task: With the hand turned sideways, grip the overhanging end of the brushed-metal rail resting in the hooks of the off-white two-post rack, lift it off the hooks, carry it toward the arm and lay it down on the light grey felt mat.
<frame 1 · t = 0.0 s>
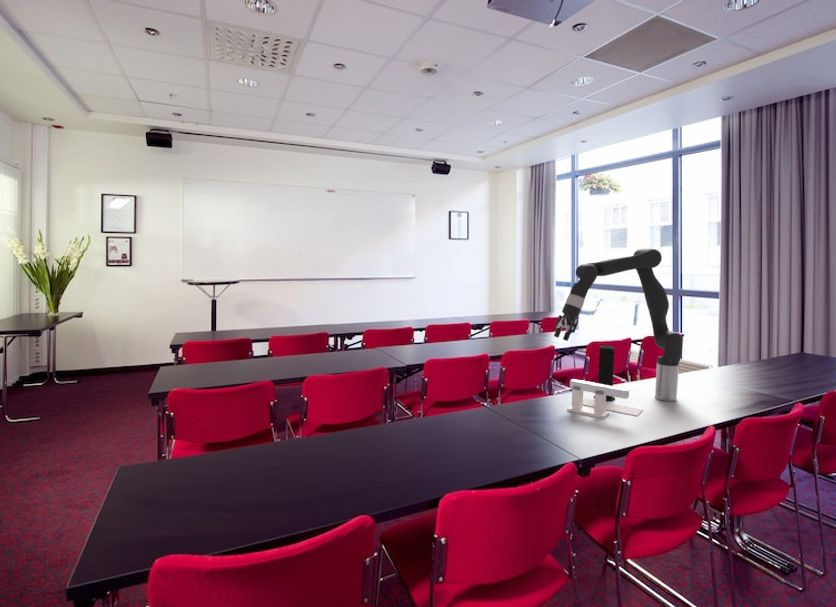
hand: (560, 338, 208), 31 cm above the table, tool tilted 20°, fingers open, 8 cm apart
rack: (588, 412, 201), on the table
rail: (598, 392, 197), point 10 cm above the table, touching rack
mat: (607, 406, 209), on the table
handle grip: (604, 398, 221), on the table
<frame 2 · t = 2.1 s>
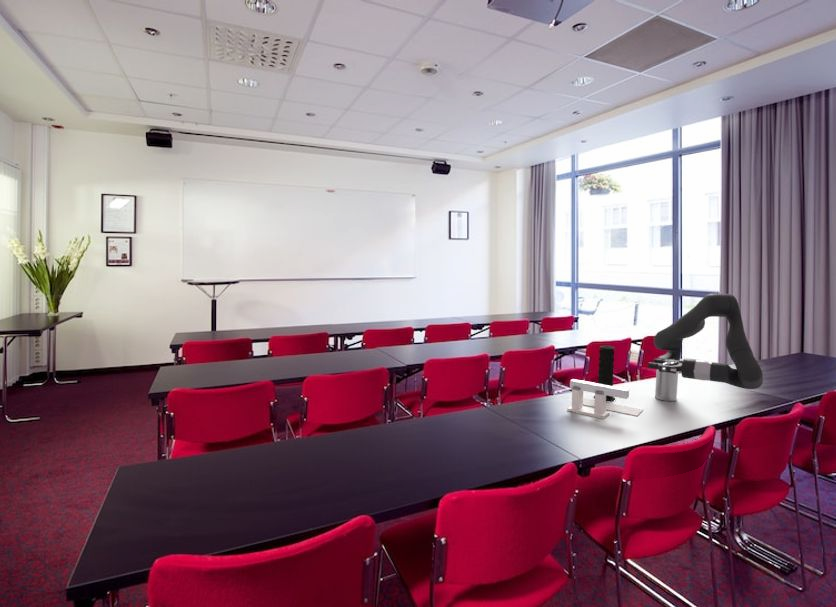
hand: (650, 363, 183), 26 cm above the table, tool horizontal, fingers open, 8 cm apart
nothing on the table moved.
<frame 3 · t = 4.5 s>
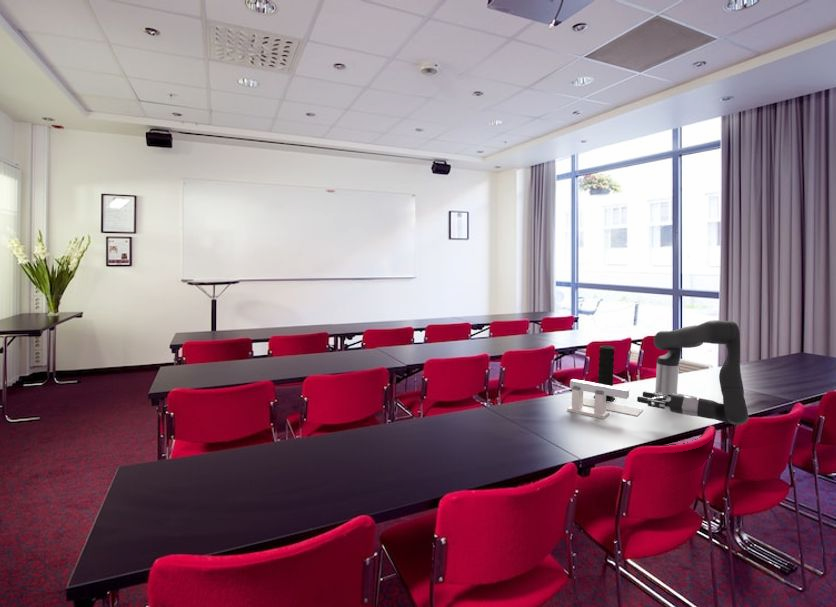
hand: (640, 396, 186), 12 cm above the table, tool horizontal, fingers open, 8 cm apart
nothing on the table moved.
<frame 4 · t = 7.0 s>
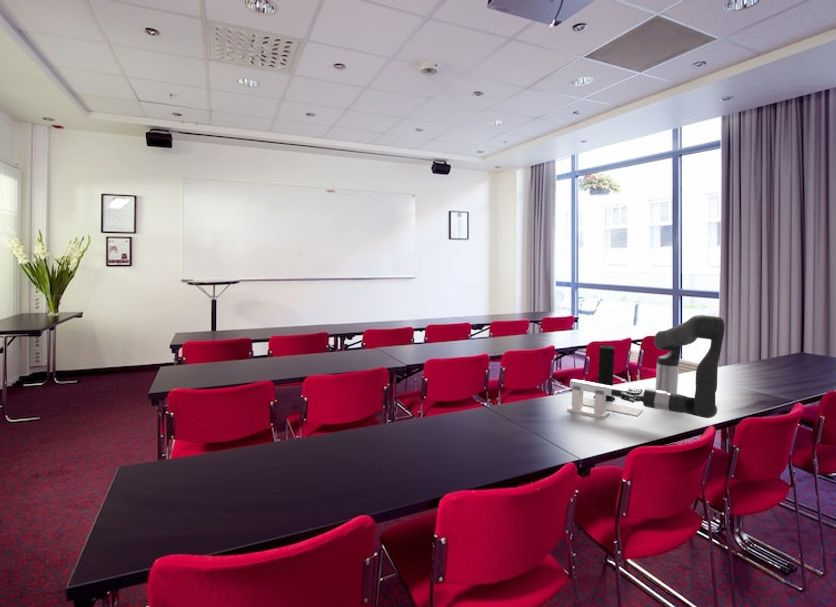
hand: (613, 391, 193), 12 cm above the table, tool horizontal, fingers closed on rail, 3 cm apart
rail: (598, 392, 197), point 10 cm above the table, touching gripper, rack
everything else where it was.
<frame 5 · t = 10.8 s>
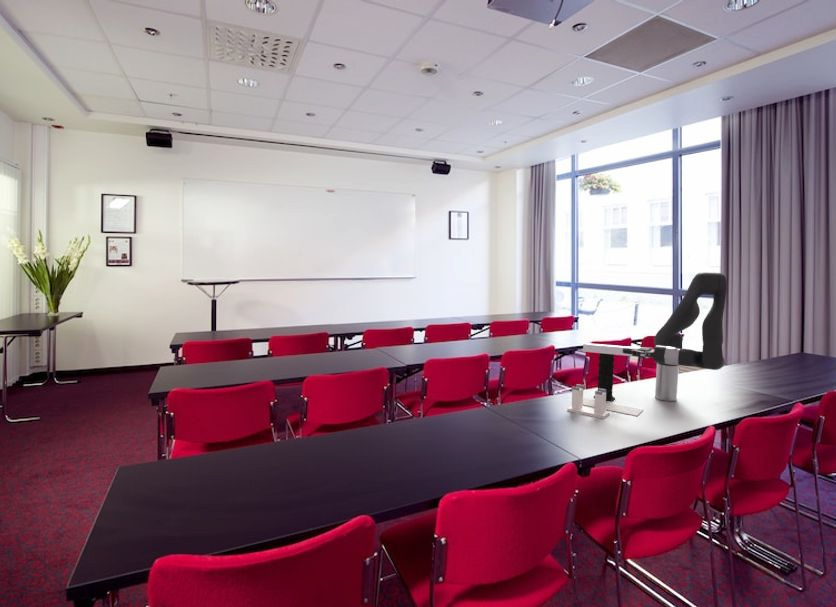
hand: (624, 349, 202), 28 cm above the table, tool horizontal, fingers closed on rail, 3 cm apart
rail: (610, 353, 206), point 25 cm above the table, touching gripper
everything else where it was.
when the fingers open (7 cm above the table, at t = 14.9 s): rail drops 3 cm, resting on mat.
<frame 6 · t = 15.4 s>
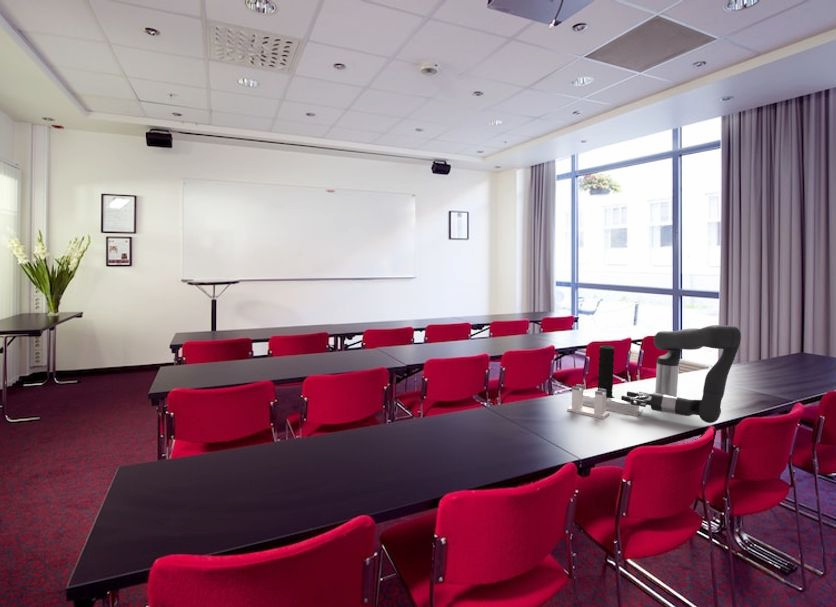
hand: (624, 395, 204), 7 cm above the table, tool horizontal, fingers open, 8 cm apart
rail: (609, 406, 208), resting on mat
everything else where it was.
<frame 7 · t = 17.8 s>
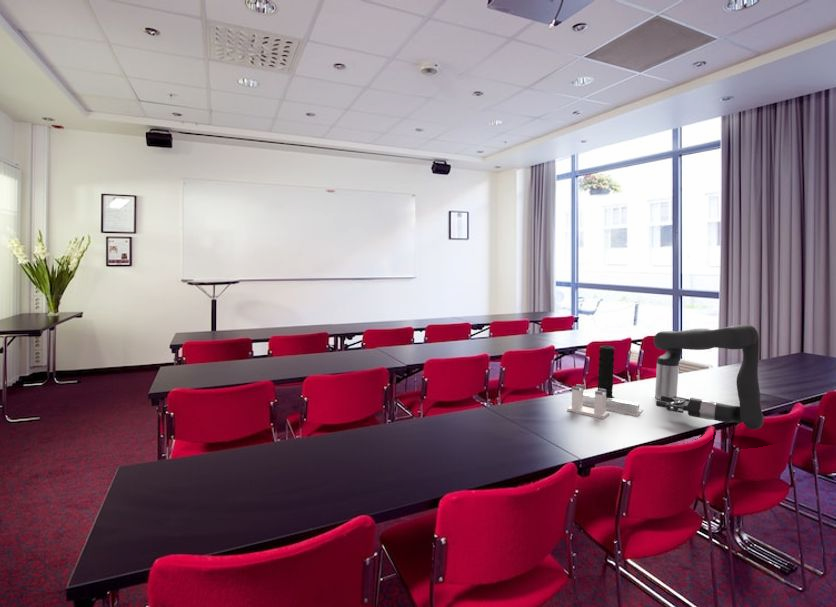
hand: (658, 400, 195), 7 cm above the table, tool horizontal, fingers open, 8 cm apart
nothing on the table moved.
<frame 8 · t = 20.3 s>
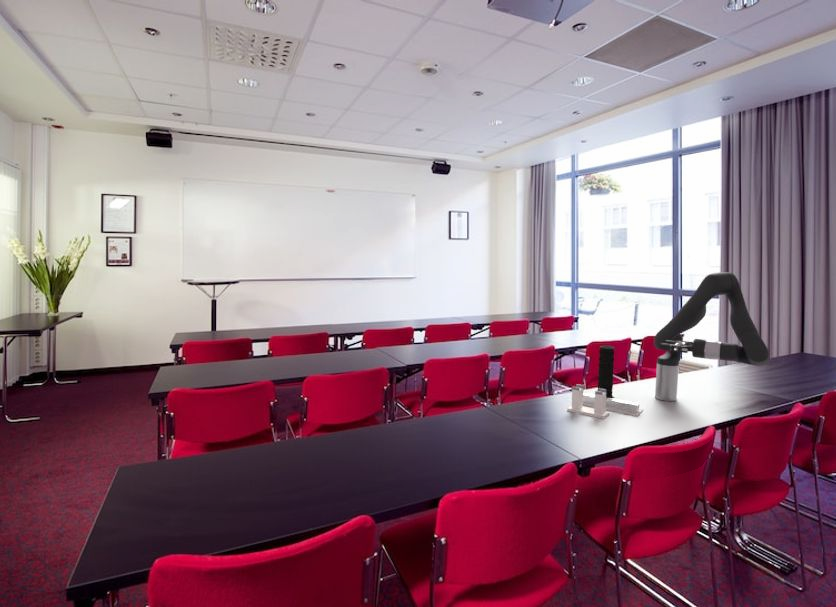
hand: (662, 344, 192), 32 cm above the table, tool horizontal, fingers open, 8 cm apart
nothing on the table moved.
at the end: rail inside the target area on the mat (1.1 cm from its centre), point 0.4 cm above the mat's base; rail touching mat; the gripper is holding nothing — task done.
